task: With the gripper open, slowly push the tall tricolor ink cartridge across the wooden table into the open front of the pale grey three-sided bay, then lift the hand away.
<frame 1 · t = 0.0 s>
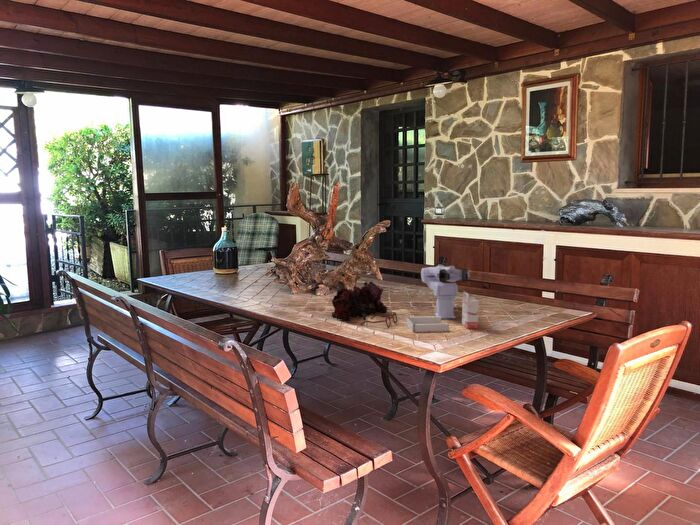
hand: (457, 276, 227), 22 cm above the table, tool horizontal, fingers open, 7 cm apart
ink cartridge box: (469, 326, 232), on the table
sorting bay: (428, 327, 230), on the table
glasses: (378, 324, 238), on the table
flower arrangement: (358, 314, 256), on the table
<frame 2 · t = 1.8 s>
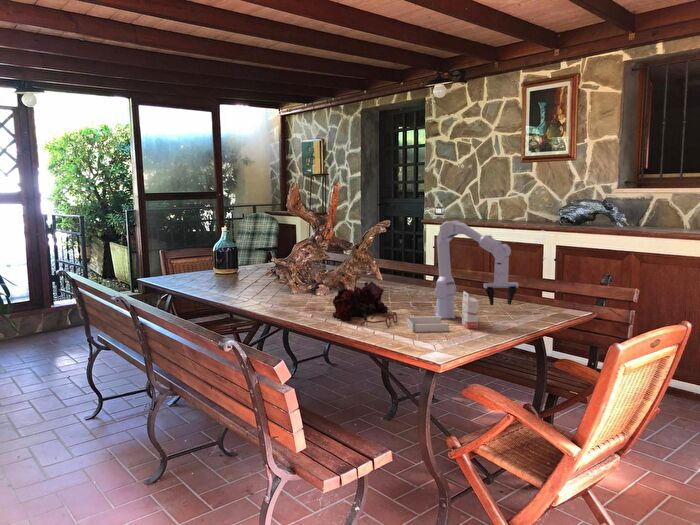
hand: (500, 304, 231), 9 cm above the table, tool pointing down, fingers open, 7 cm apart
nothing on the table moved.
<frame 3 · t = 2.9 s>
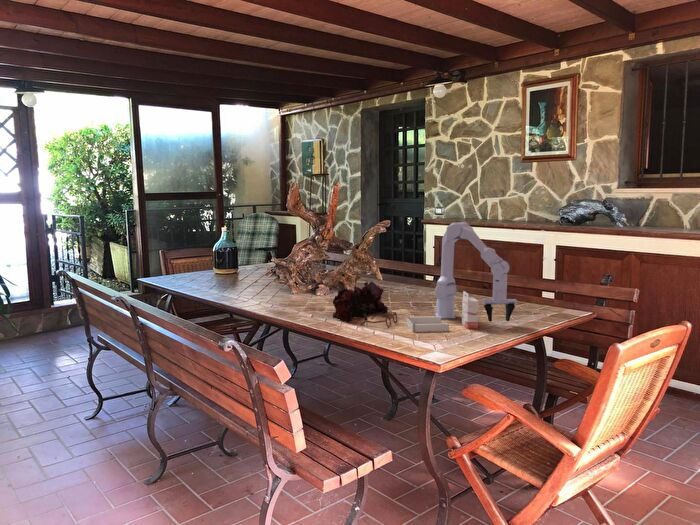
hand: (498, 321, 232), 2 cm above the table, tool pointing down, fingers open, 7 cm apart
nothing on the table moved.
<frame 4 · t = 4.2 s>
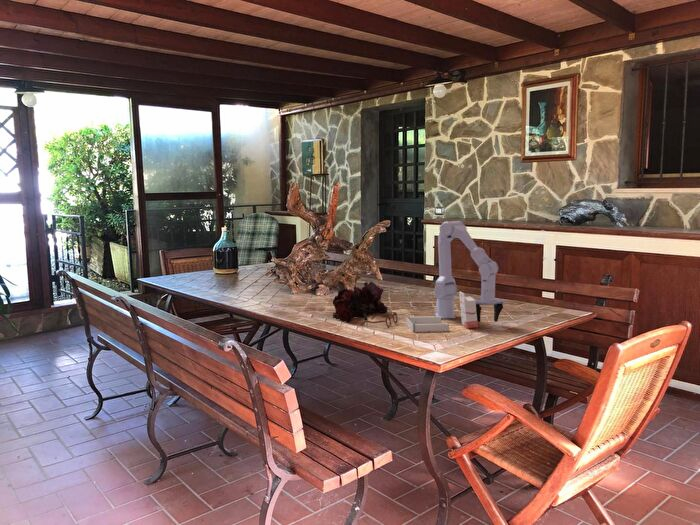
hand: (487, 321, 232), 2 cm above the table, tool pointing down, fingers open, 7 cm apart
ink cartridge box: (469, 326, 232), on the table, touching gripper
everything else where it was.
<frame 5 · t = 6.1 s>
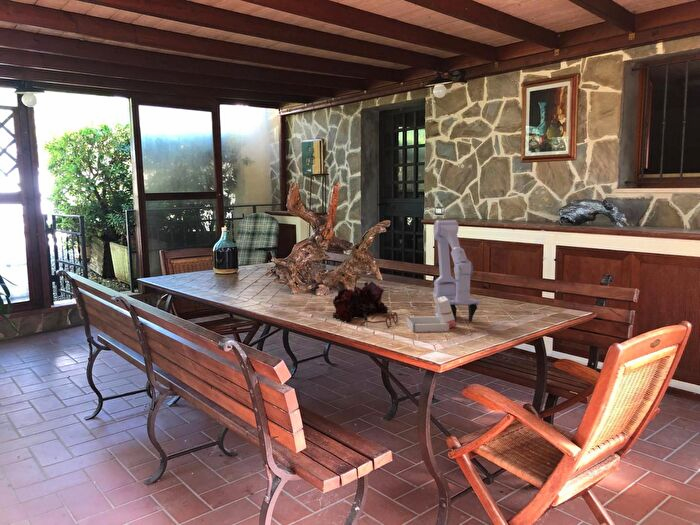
hand: (462, 321, 231), 2 cm above the table, tool pointing down, fingers open, 6 cm apart
ink cartridge box: (449, 325, 231), point 1 cm above the table, touching gripper
everything else where it was.
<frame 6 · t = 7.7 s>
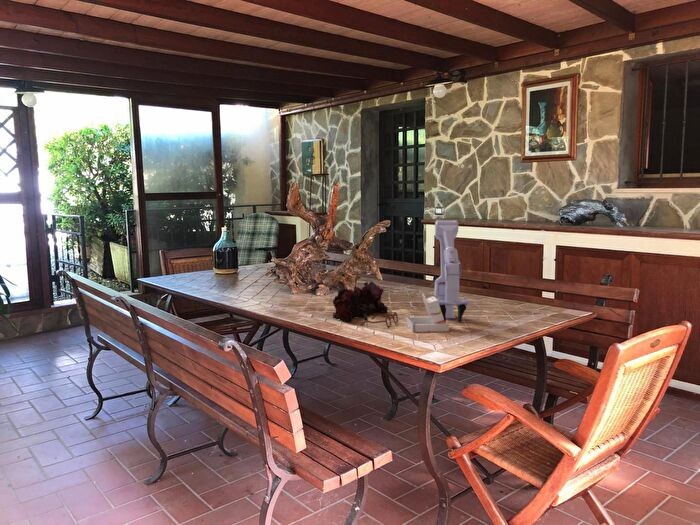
hand: (451, 322, 231), 2 cm above the table, tool pointing down, fingers open, 6 cm apart
ink cartridge box: (439, 325, 230), point 1 cm above the table, touching gripper
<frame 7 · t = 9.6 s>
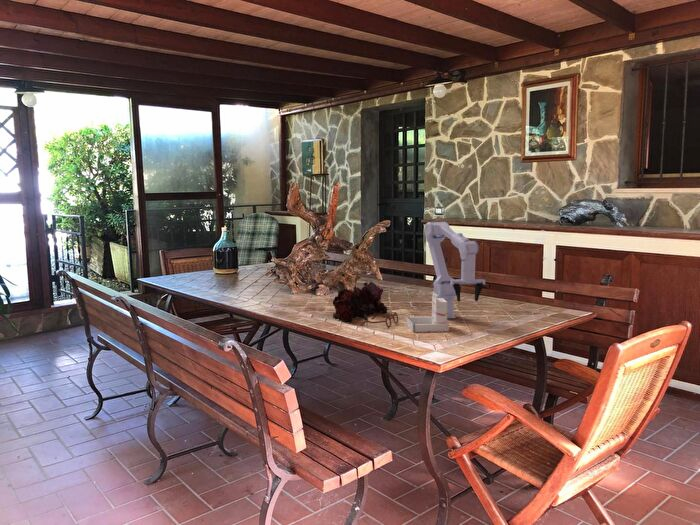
hand: (467, 301, 233), 10 cm above the table, tool pointing down, fingers open, 7 cm apart
ink cartridge box: (439, 327, 231), on the table
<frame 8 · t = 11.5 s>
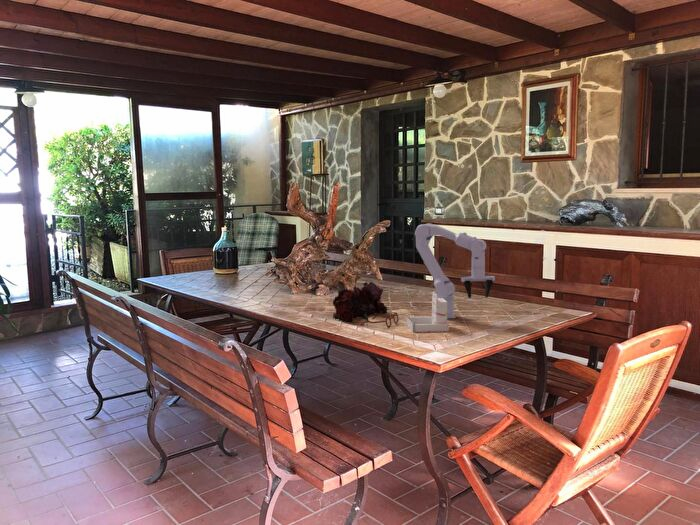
hand: (477, 297, 240), 10 cm above the table, tool pointing down, fingers open, 7 cm apart
at the end: ink cartridge box inside the target area (5.0 cm from its centre), on the table; ink cartridge box tilted 0° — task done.
